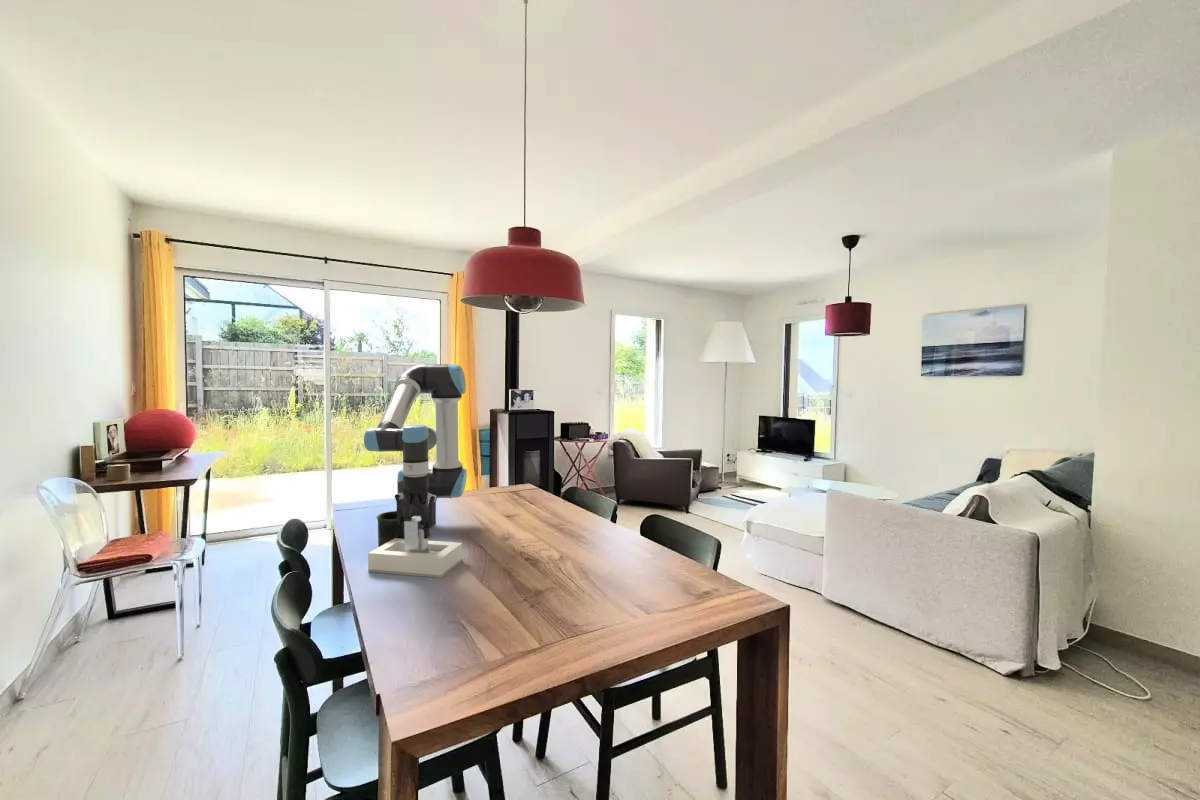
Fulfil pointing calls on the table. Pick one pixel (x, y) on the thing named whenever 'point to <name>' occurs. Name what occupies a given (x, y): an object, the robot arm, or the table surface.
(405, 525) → the grey l-shaped block
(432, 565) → the well block
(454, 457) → the robot arm
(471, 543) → the table surface
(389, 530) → the mug
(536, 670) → the table surface
